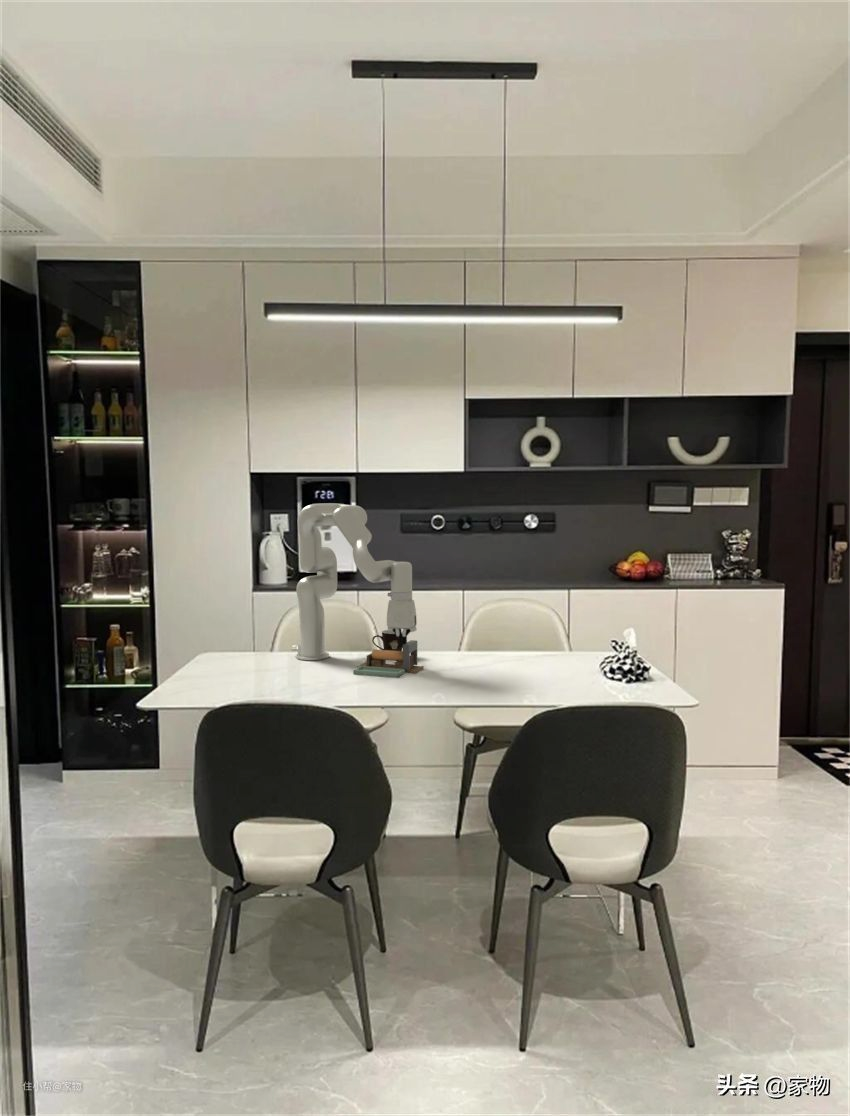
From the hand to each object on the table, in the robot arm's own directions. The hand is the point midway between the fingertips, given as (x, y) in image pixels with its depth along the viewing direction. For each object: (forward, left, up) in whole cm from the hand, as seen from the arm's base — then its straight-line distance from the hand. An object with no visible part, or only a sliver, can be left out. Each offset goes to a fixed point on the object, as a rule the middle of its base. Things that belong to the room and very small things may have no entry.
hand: (402, 646), depth 281 cm
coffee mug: (-13, +19, -9) cm, 25 cm away
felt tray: (-6, -8, -9) cm, 13 cm away
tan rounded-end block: (-5, 0, -5) cm, 7 cm away
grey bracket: (+3, 0, -7) cm, 8 cm away
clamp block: (-5, 0, -9) cm, 10 cm away
